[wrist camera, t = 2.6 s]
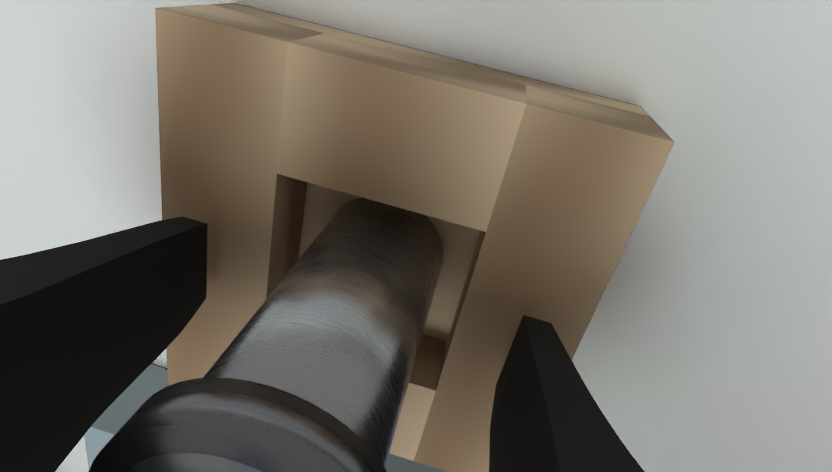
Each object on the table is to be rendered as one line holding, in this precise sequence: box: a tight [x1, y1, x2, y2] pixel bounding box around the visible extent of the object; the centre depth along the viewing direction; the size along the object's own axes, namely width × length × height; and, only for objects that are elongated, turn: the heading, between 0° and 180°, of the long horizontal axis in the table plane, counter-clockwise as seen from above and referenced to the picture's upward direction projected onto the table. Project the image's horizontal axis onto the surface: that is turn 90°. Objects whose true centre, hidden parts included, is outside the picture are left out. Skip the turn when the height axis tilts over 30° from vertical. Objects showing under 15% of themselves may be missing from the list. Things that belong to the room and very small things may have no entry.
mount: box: [155, 3, 674, 472], centre depth 13 cm, size 10×10×3 cm
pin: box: [89, 197, 443, 472], centre depth 10 cm, size 4×4×8 cm
